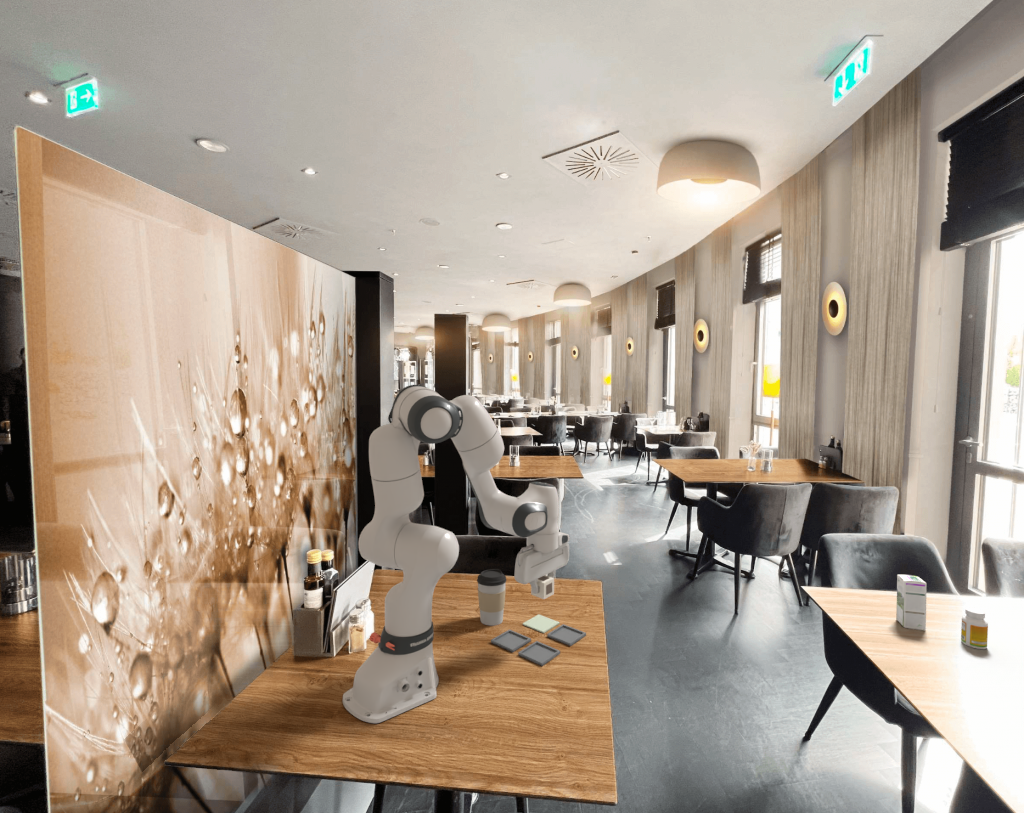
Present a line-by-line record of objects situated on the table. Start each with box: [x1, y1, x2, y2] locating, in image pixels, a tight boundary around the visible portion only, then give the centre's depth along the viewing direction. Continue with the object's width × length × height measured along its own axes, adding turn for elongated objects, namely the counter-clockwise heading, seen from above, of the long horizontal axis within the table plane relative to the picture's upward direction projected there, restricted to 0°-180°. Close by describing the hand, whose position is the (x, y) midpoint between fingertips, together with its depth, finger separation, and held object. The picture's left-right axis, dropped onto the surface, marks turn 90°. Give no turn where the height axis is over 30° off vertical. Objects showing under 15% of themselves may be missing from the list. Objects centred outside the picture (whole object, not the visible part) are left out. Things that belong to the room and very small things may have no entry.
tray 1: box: [490, 629, 532, 654], centre depth 140 cm, size 8×8×1 cm
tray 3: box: [546, 623, 587, 647], centre depth 143 cm, size 8×8×1 cm
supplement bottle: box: [960, 607, 989, 650], centre depth 139 cm, size 5×5×10 cm
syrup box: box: [895, 574, 927, 631], centre depth 151 cm, size 6×6×14 cm
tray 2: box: [517, 640, 561, 667], centre depth 133 cm, size 8×8×1 cm
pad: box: [522, 613, 560, 634], centre depth 151 cm, size 8×8×1 cm
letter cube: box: [530, 574, 555, 600], centre depth 138 cm, size 4×5×5 cm
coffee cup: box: [476, 568, 507, 627], centre depth 153 cm, size 9×9×15 cm
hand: (542, 589), depth 138 cm, fingers closed on letter cube, 4 cm apart
